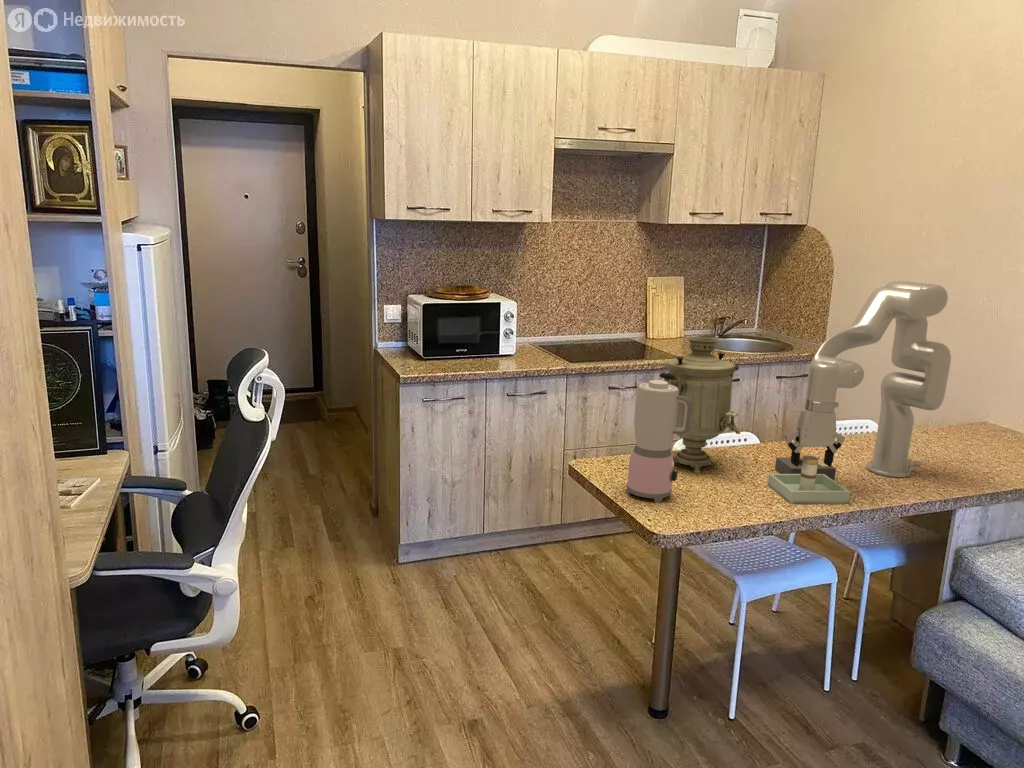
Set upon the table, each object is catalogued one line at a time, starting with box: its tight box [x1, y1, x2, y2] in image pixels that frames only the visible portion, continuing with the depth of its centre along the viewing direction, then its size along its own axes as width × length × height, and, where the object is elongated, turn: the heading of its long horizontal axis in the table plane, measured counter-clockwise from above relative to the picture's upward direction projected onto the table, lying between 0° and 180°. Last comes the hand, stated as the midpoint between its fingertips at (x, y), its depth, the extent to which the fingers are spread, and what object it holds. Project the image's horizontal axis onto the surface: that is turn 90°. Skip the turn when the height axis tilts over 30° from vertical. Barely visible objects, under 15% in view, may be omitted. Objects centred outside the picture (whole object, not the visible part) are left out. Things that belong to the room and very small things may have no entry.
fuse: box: [799, 455, 819, 491], centre depth 208 cm, size 4×4×10 cm
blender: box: [626, 379, 692, 503], centre depth 200 cm, size 16×12×32 cm
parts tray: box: [767, 473, 851, 505], centre depth 209 cm, size 17×14×4 cm
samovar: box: [658, 336, 741, 475], centre depth 222 cm, size 30×26×40 cm
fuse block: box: [774, 456, 837, 481], centre depth 224 cm, size 14×10×4 cm
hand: (811, 464), depth 207 cm, fingers open, 9 cm apart
